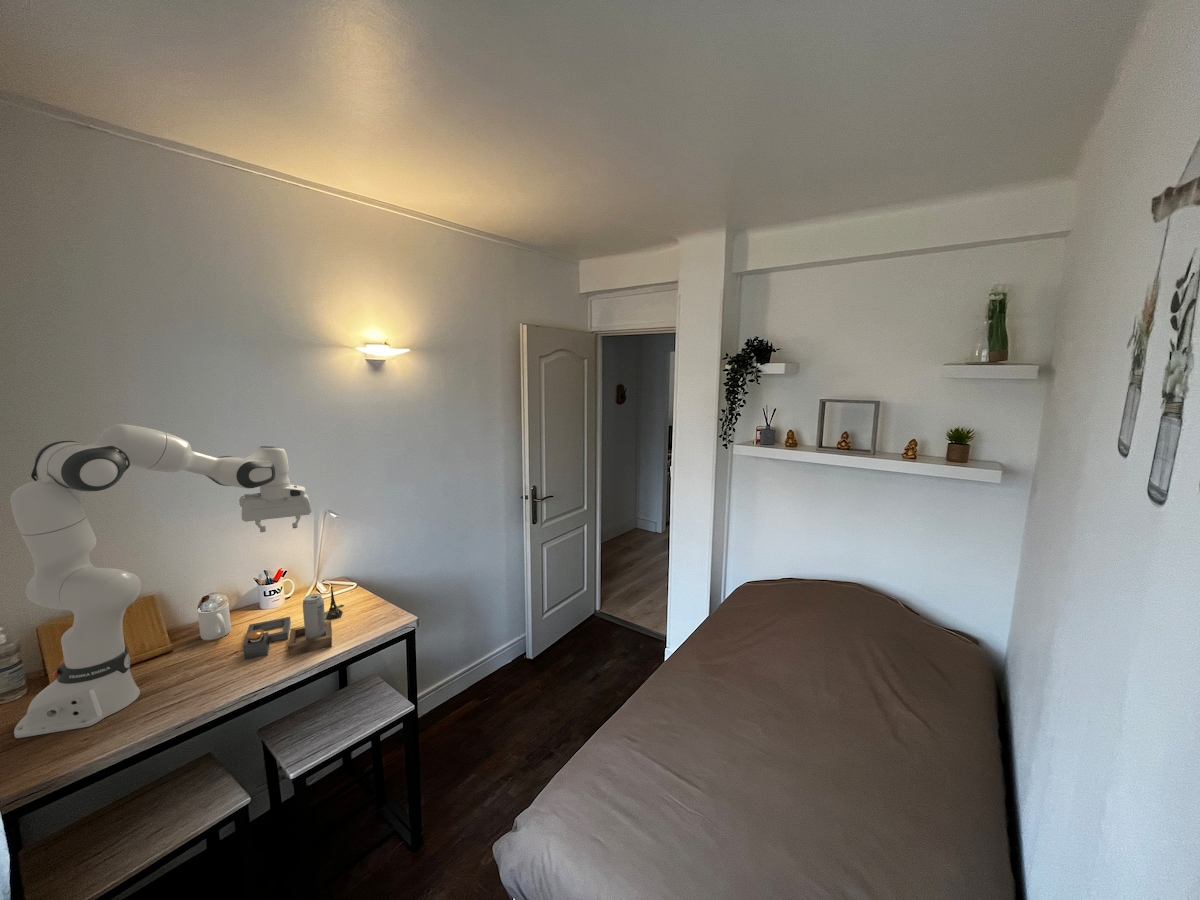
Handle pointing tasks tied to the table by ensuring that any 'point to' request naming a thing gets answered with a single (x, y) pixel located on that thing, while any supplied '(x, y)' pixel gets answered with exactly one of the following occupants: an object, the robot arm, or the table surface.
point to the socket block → (265, 637)
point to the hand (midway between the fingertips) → (279, 529)
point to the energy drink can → (314, 616)
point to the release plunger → (255, 635)
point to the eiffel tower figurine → (333, 609)
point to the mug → (214, 623)
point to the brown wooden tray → (308, 641)
